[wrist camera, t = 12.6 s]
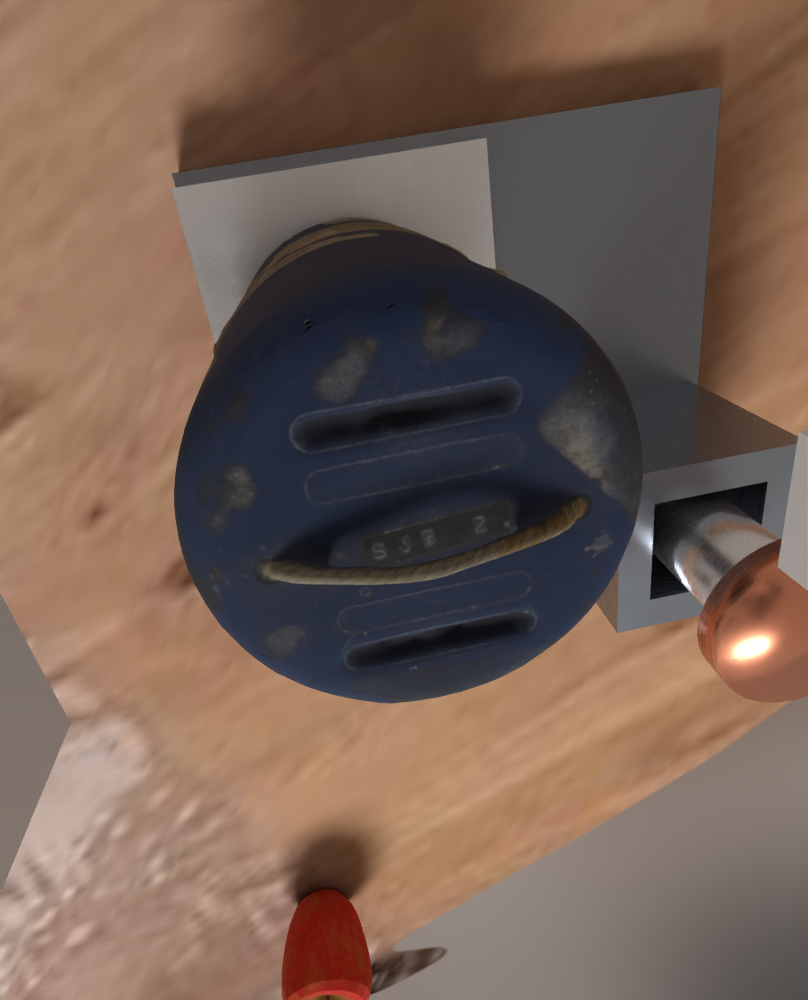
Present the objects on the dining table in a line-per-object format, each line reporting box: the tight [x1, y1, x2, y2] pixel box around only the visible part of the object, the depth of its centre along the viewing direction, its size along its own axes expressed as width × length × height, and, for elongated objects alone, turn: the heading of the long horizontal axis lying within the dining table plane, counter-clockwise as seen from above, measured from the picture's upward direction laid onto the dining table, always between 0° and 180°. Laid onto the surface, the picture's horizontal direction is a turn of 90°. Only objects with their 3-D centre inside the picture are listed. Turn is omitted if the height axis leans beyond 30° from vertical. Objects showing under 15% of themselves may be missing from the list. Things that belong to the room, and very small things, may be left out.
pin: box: [652, 492, 808, 702], centre depth 24 cm, size 6×6×9 cm
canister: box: [174, 218, 643, 703], centre depth 19 cm, size 10×10×18 cm
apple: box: [282, 889, 372, 1000], centre depth 44 cm, size 6×6×8 cm
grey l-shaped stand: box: [171, 87, 798, 633], centre depth 26 cm, size 22×20×10 cm
